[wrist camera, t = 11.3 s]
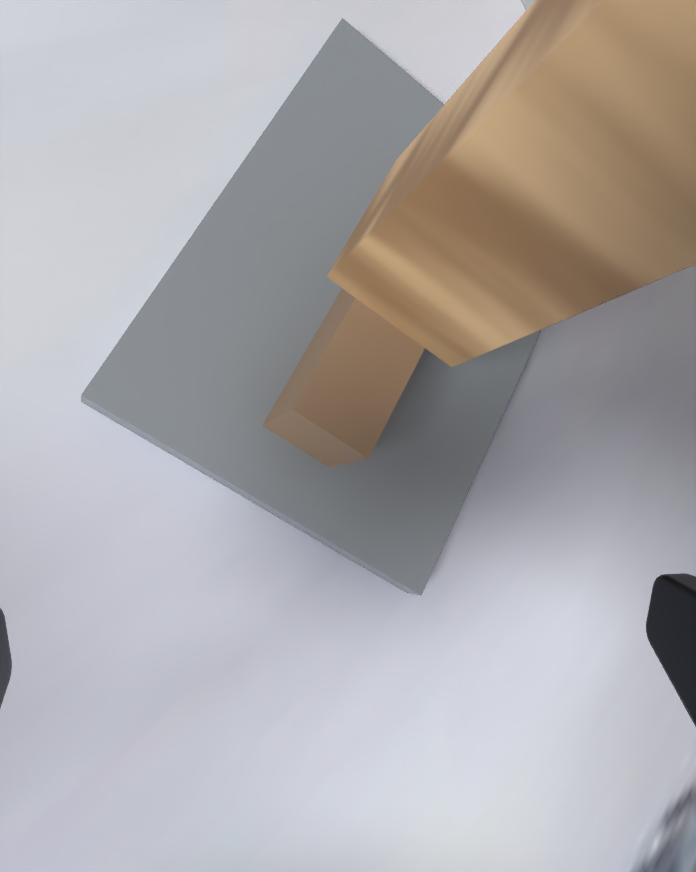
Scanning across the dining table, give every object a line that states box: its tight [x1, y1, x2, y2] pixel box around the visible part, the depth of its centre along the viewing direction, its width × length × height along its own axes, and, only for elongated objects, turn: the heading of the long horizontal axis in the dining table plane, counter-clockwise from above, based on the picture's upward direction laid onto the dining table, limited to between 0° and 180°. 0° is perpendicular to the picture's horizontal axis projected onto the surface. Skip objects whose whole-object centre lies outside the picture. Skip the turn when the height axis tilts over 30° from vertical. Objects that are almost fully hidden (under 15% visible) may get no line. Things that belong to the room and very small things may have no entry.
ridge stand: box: [81, 18, 541, 595], centre depth 21 cm, size 16×12×4 cm
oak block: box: [326, 0, 696, 367], centre depth 13 cm, size 4×4×14 cm
